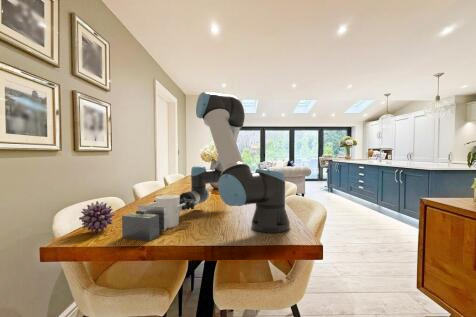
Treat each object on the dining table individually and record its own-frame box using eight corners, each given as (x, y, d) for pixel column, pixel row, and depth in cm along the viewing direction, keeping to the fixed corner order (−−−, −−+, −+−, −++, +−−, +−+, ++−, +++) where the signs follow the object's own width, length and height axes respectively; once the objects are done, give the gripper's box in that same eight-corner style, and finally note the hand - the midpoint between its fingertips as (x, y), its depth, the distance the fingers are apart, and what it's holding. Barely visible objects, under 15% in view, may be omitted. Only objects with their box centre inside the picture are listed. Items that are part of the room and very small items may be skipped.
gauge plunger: (166, 230, 91) (165, 206, 91) (153, 236, 84) (153, 210, 84) (140, 227, 95) (140, 204, 95) (126, 233, 88) (125, 208, 88)
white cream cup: (174, 229, 95) (173, 198, 95) (151, 228, 97) (151, 198, 97) (184, 222, 105) (183, 194, 105) (163, 221, 107) (162, 194, 107)
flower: (116, 233, 91) (115, 202, 91) (78, 239, 85) (77, 205, 84) (114, 225, 101) (113, 197, 101) (80, 230, 95) (79, 200, 94)
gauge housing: (159, 236, 87) (158, 214, 87) (149, 241, 82) (149, 217, 82) (132, 233, 91) (132, 212, 91) (122, 237, 86) (121, 215, 86)
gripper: (212, 208, 114) (188, 220, 94) (167, 205, 122) (137, 215, 102) (212, 192, 114) (188, 201, 94) (167, 190, 122) (137, 197, 102)
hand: (161, 208), depth 98 cm, fingers open, 13 cm apart
